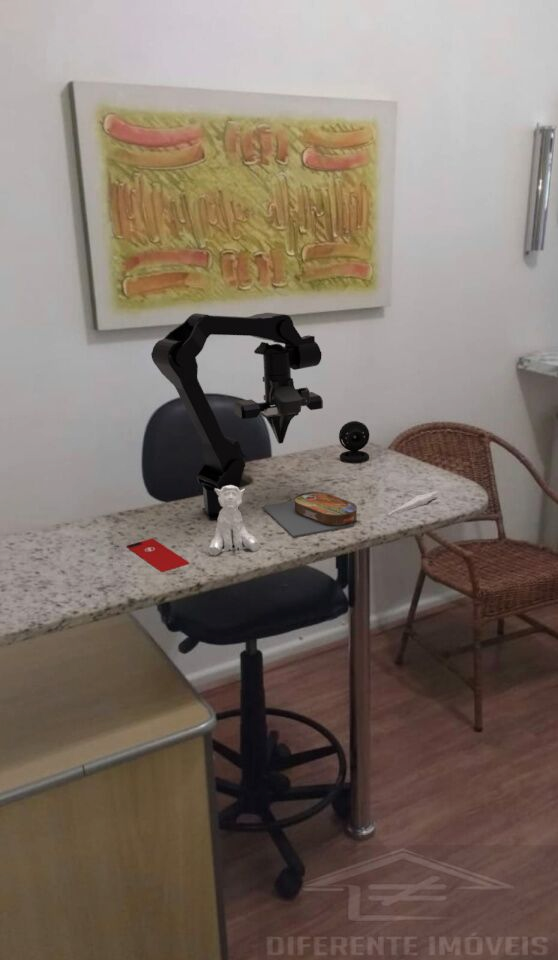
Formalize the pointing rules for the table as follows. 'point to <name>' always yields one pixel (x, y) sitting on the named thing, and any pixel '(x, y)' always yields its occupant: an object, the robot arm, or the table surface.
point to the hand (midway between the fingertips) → (280, 443)
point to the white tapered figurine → (416, 502)
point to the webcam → (354, 442)
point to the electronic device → (157, 555)
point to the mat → (297, 520)
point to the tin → (325, 508)
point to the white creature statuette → (231, 524)
